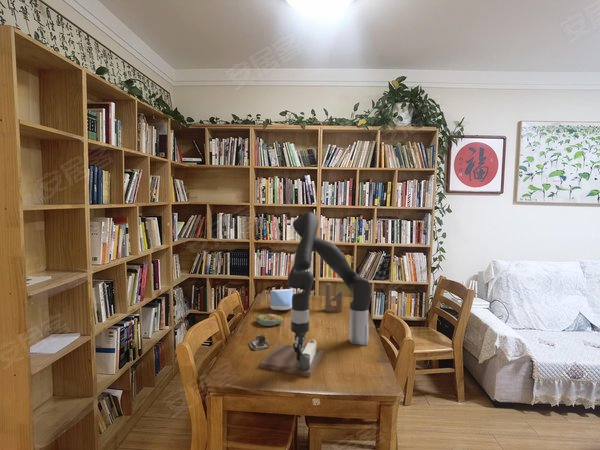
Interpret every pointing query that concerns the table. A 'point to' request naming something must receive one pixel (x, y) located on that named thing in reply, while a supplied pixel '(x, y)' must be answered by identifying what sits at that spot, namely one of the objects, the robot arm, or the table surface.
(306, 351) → the white rectangular block
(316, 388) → the table surface
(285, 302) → the retro all-in-one computer
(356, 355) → the table surface
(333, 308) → the brown notched block
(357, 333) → the robot arm
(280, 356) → the board
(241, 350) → the table surface
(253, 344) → the dark grey gadget
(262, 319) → the cell model
